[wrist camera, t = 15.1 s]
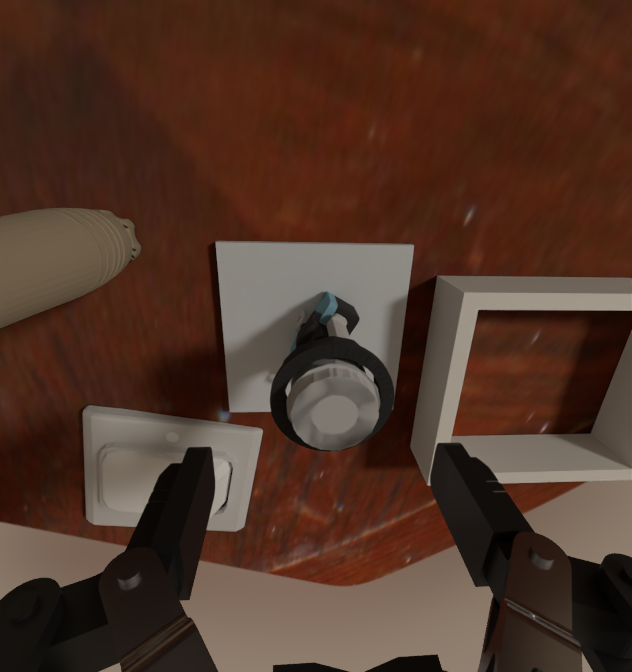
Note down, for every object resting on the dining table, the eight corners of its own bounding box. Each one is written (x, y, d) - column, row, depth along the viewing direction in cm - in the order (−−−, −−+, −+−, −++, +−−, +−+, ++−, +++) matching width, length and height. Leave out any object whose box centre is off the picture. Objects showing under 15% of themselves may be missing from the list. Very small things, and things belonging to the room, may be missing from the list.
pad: (231, 407, 26) (229, 412, 26) (217, 240, 21) (215, 242, 21) (390, 405, 27) (393, 409, 26) (411, 244, 22) (414, 245, 22)
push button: (321, 388, 25) (337, 503, 16) (254, 354, 24) (229, 459, 15) (374, 311, 23) (427, 393, 14) (304, 270, 22) (312, 331, 13)
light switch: (242, 559, 28) (67, 553, 26) (245, 515, 32) (92, 506, 30) (263, 454, 25) (59, 436, 22) (264, 418, 28) (90, 399, 26)
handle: (171, 205, 21) (-80, 241, 7) (142, 302, 23) (-94, 480, 9) (84, 166, 20) (-419, 114, 6) (62, 271, 22) (-345, 418, 8)
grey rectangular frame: (410, 446, 29) (427, 485, 25) (437, 275, 23) (464, 292, 19) (597, 443, 30) (641, 479, 26) (665, 278, 24) (732, 294, 20)
